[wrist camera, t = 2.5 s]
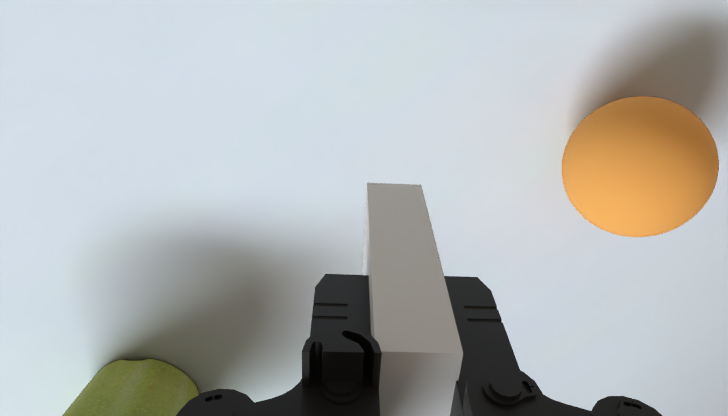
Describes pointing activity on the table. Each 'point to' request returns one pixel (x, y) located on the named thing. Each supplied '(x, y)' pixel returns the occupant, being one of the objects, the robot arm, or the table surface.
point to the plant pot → (135, 390)
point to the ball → (640, 166)
